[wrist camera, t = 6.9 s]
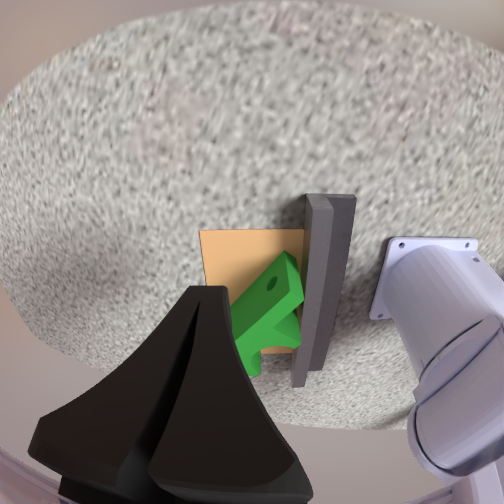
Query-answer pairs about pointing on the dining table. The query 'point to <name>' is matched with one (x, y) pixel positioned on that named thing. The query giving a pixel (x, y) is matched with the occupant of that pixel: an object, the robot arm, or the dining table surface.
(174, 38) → the dining table surface
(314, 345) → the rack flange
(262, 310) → the pipe clamp
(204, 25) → the dining table surface
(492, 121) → the dining table surface
